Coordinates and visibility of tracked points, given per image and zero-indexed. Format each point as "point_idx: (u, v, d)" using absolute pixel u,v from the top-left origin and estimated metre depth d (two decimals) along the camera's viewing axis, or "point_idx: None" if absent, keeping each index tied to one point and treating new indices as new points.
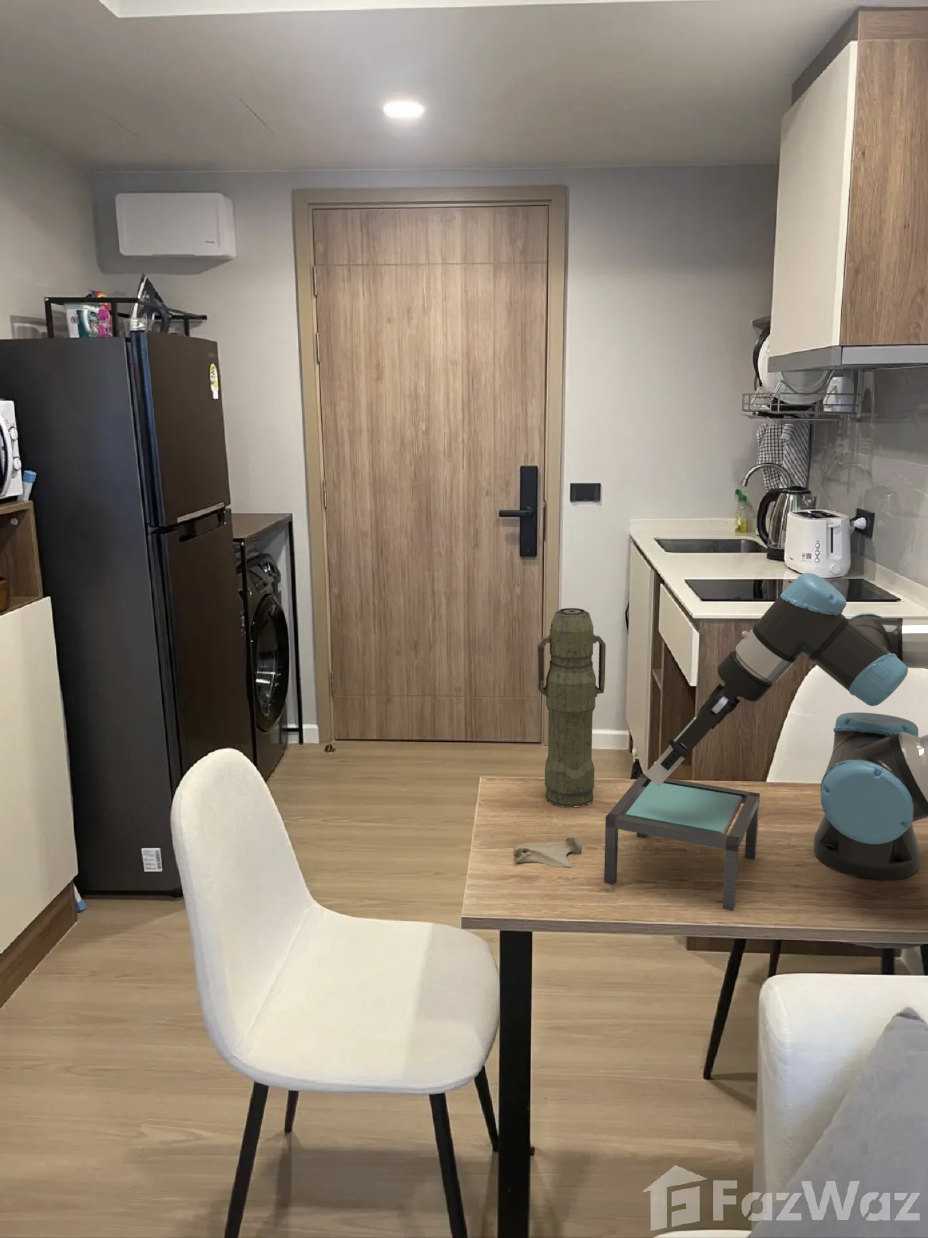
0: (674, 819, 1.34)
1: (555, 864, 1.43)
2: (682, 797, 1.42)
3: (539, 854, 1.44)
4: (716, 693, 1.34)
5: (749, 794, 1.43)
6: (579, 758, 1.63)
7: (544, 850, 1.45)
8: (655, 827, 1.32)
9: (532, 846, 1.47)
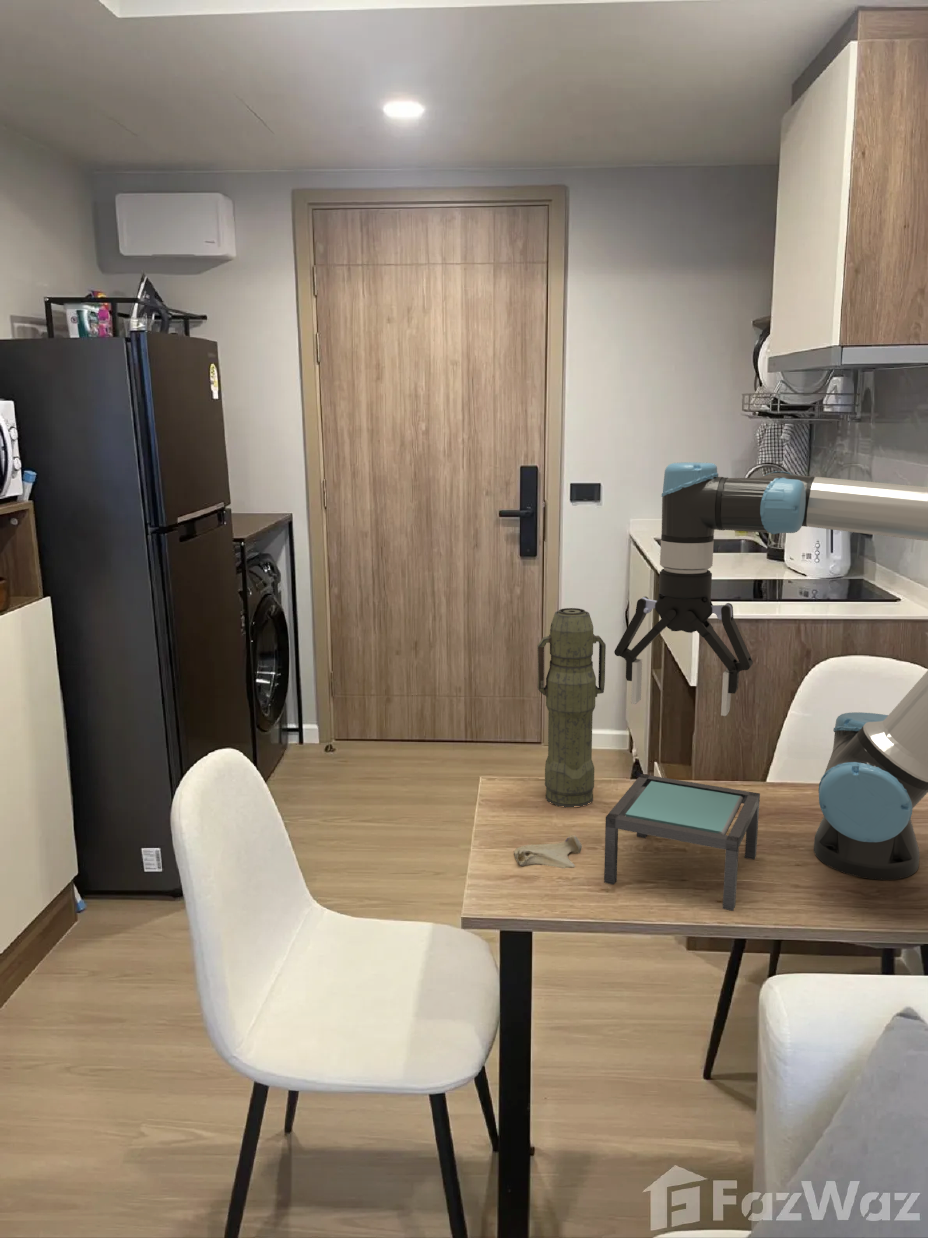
0: (674, 819, 1.34)
1: (558, 865, 1.43)
2: (682, 797, 1.42)
3: (541, 855, 1.44)
4: None
5: (749, 794, 1.43)
6: (579, 758, 1.63)
7: (546, 852, 1.44)
8: (655, 827, 1.32)
9: (532, 848, 1.47)
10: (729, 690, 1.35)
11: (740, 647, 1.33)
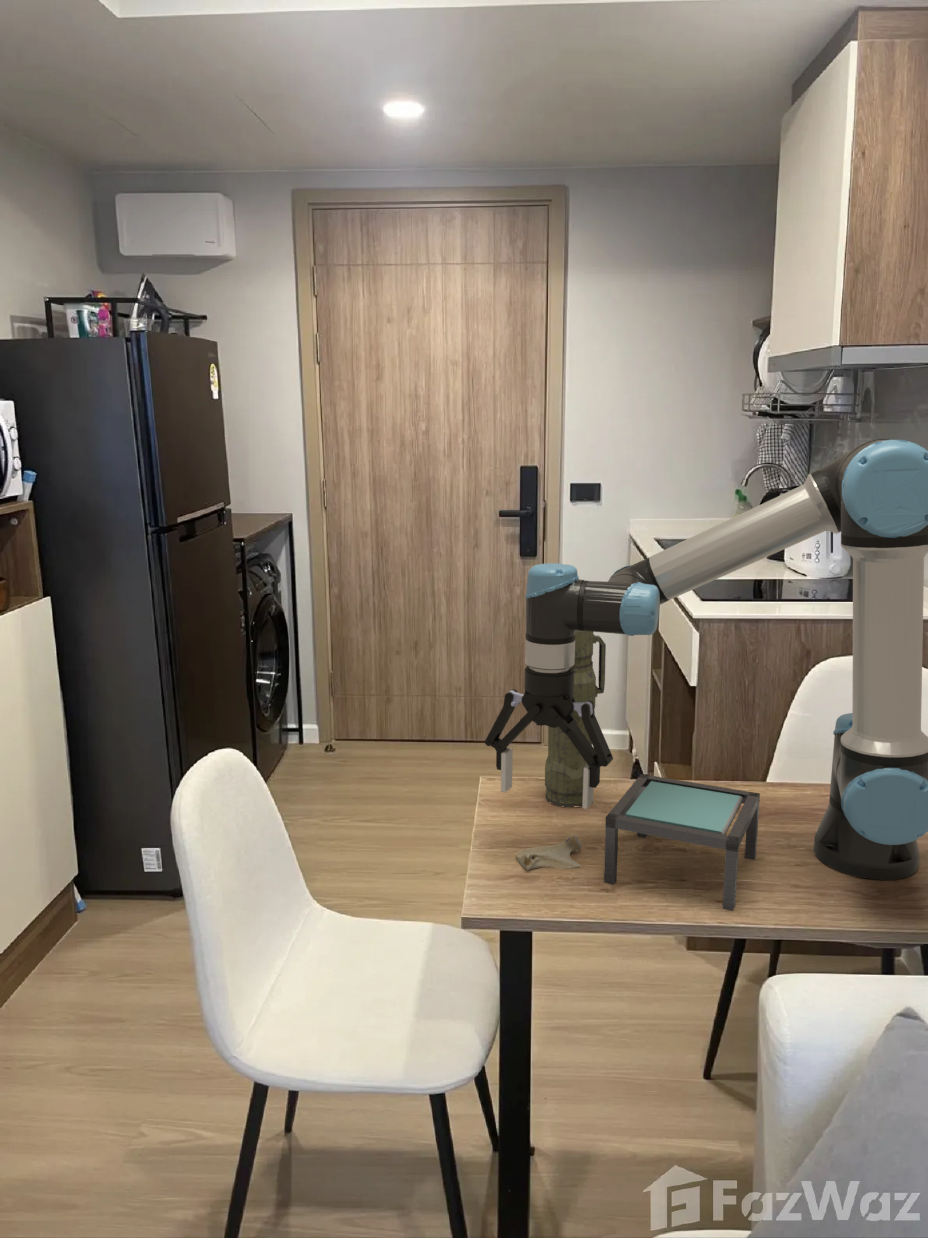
0: (674, 819, 1.34)
1: (565, 866, 1.42)
2: (682, 797, 1.42)
3: (546, 858, 1.43)
4: None
5: (749, 794, 1.43)
6: (579, 758, 1.63)
7: (550, 854, 1.44)
8: (655, 827, 1.32)
9: (534, 851, 1.45)
10: (590, 784, 1.39)
11: (599, 744, 1.37)
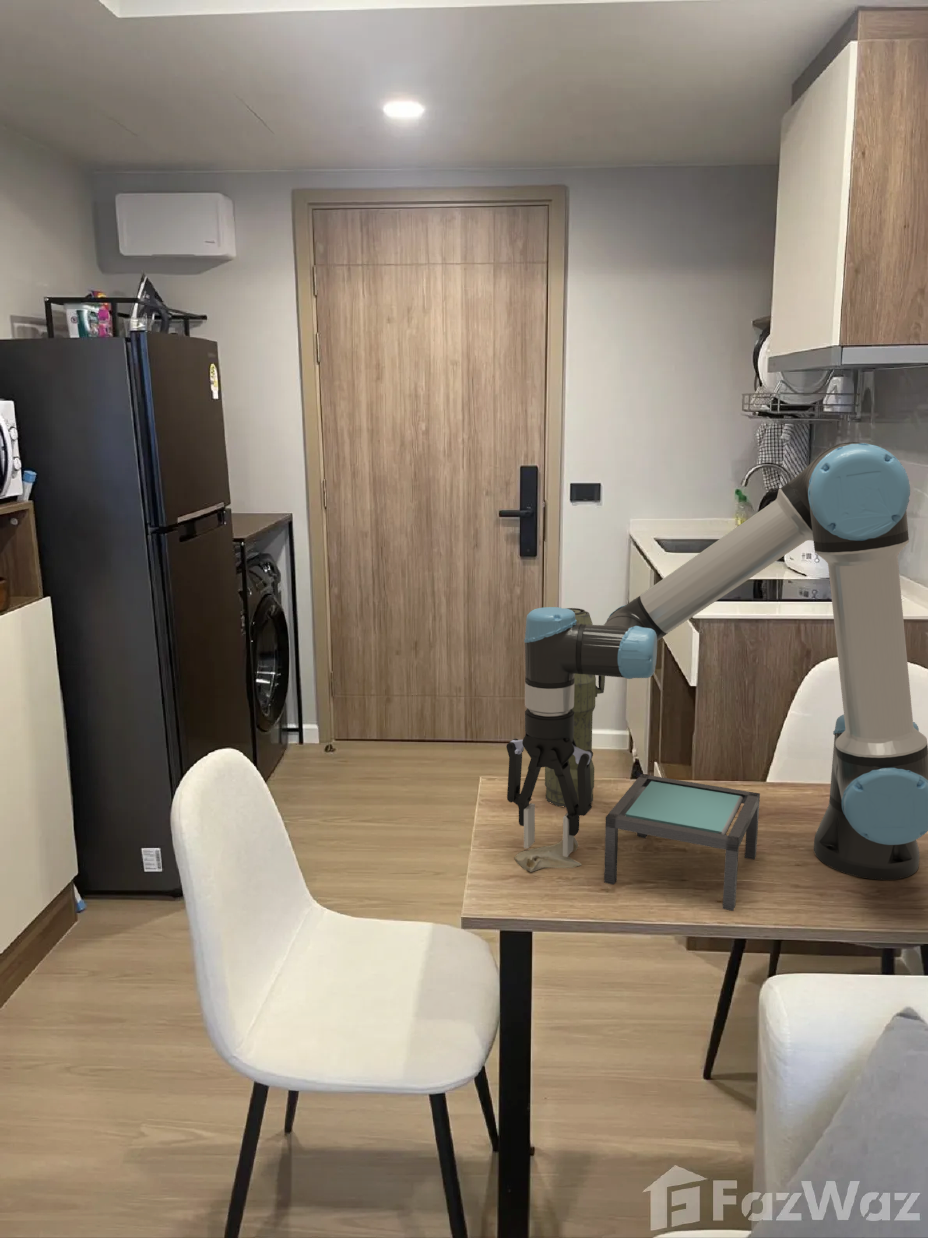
0: (674, 819, 1.34)
1: (566, 865, 1.42)
2: (682, 797, 1.42)
3: (547, 859, 1.43)
4: None
5: (749, 794, 1.43)
6: None
7: (550, 854, 1.44)
8: (655, 827, 1.32)
9: (533, 853, 1.45)
10: (570, 832, 1.42)
11: (584, 795, 1.40)
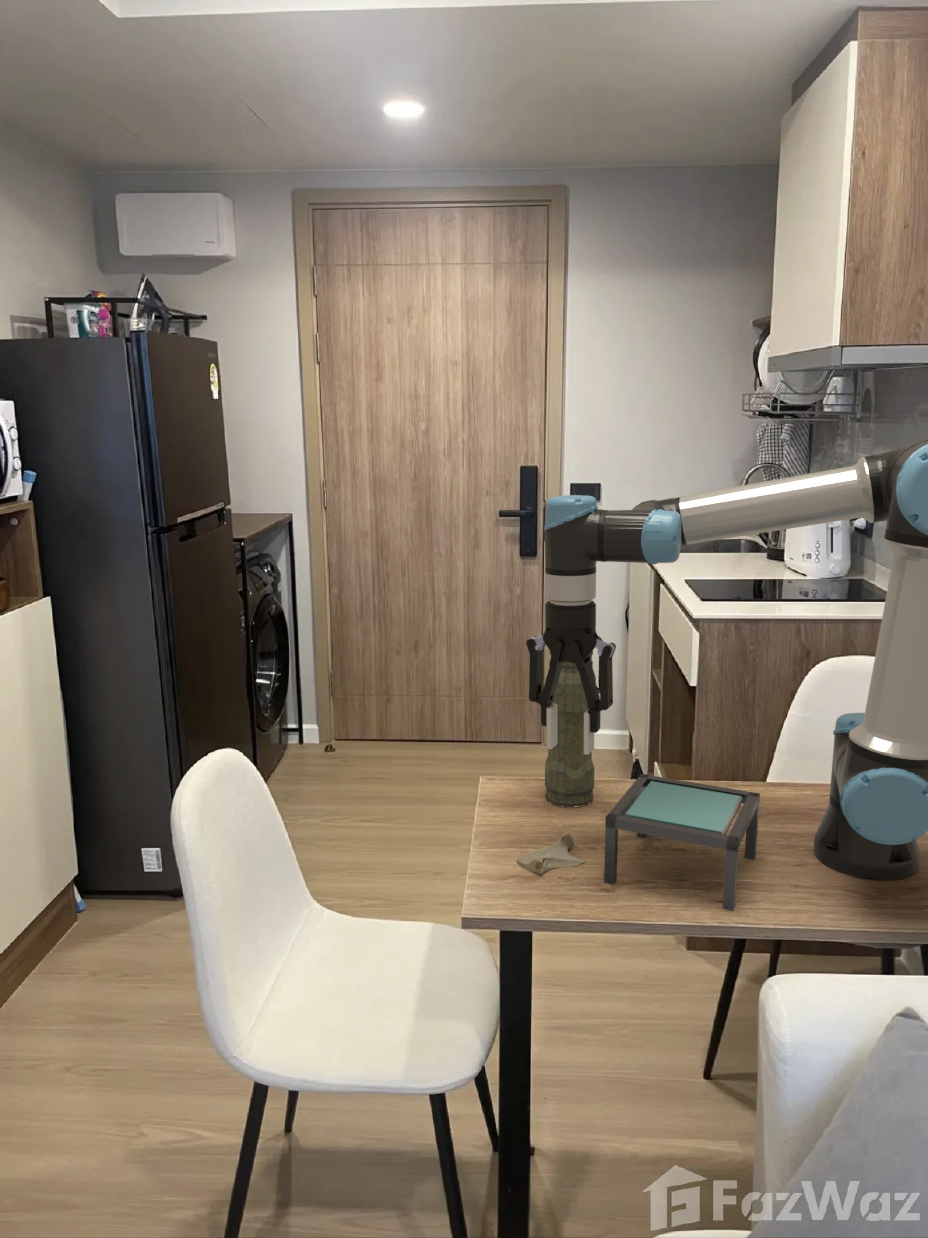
0: (674, 819, 1.34)
1: (571, 864, 1.43)
2: (682, 797, 1.42)
3: (552, 859, 1.42)
4: None
5: (749, 794, 1.43)
6: (579, 758, 1.63)
7: (554, 854, 1.43)
8: (655, 827, 1.32)
9: (535, 855, 1.44)
10: (591, 729, 1.38)
11: (606, 688, 1.36)
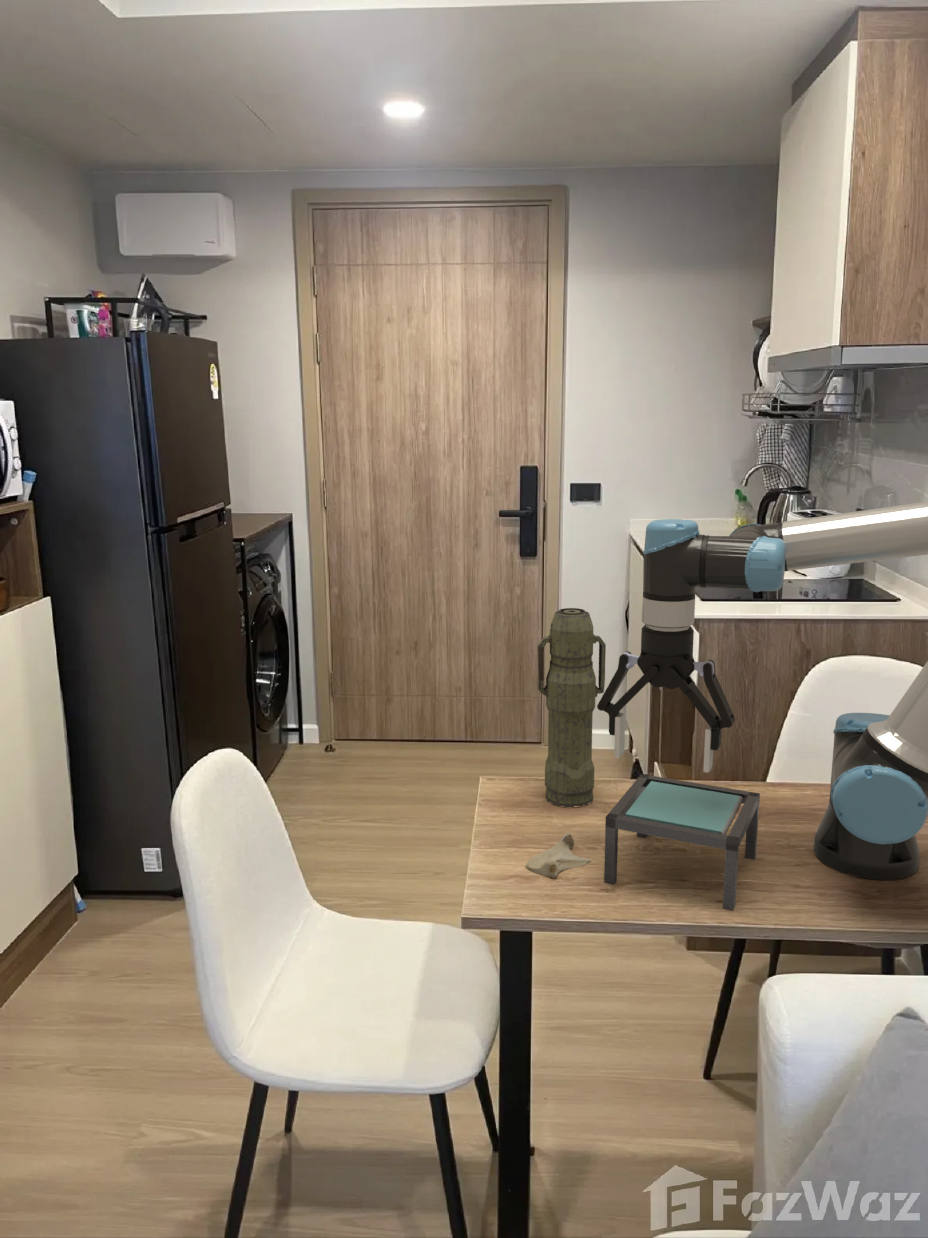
0: (674, 819, 1.34)
1: (580, 864, 1.43)
2: (682, 797, 1.42)
3: (562, 861, 1.42)
4: None
5: (749, 794, 1.43)
6: (579, 758, 1.63)
7: (561, 856, 1.43)
8: (655, 827, 1.32)
9: (542, 858, 1.43)
10: (711, 747, 1.35)
11: (722, 705, 1.32)
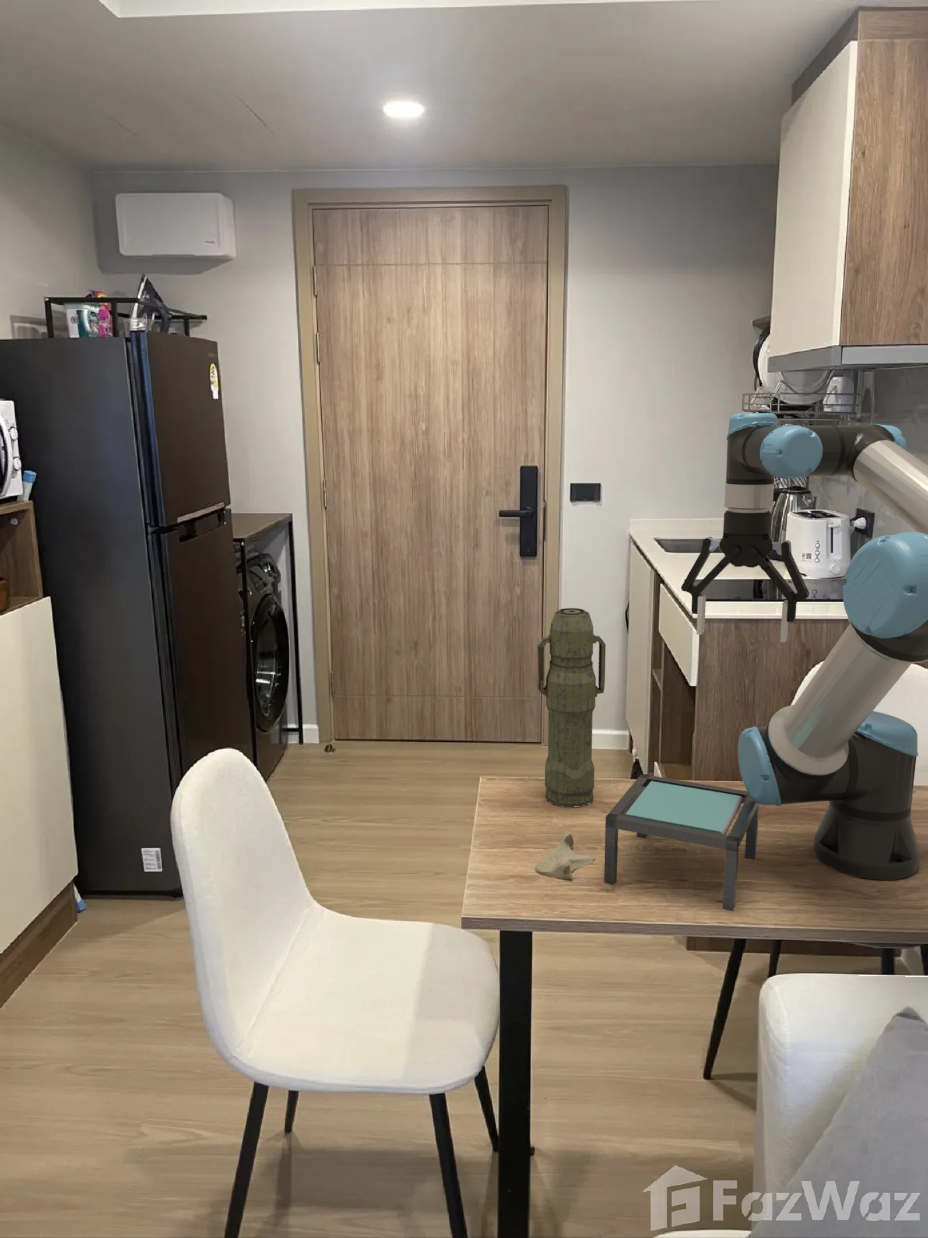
0: (674, 819, 1.34)
1: (587, 862, 1.43)
2: (682, 797, 1.42)
3: (571, 861, 1.42)
4: None
5: None
6: (579, 758, 1.63)
7: (569, 857, 1.43)
8: (655, 827, 1.32)
9: (550, 861, 1.42)
10: (787, 619, 1.50)
11: (798, 579, 1.47)
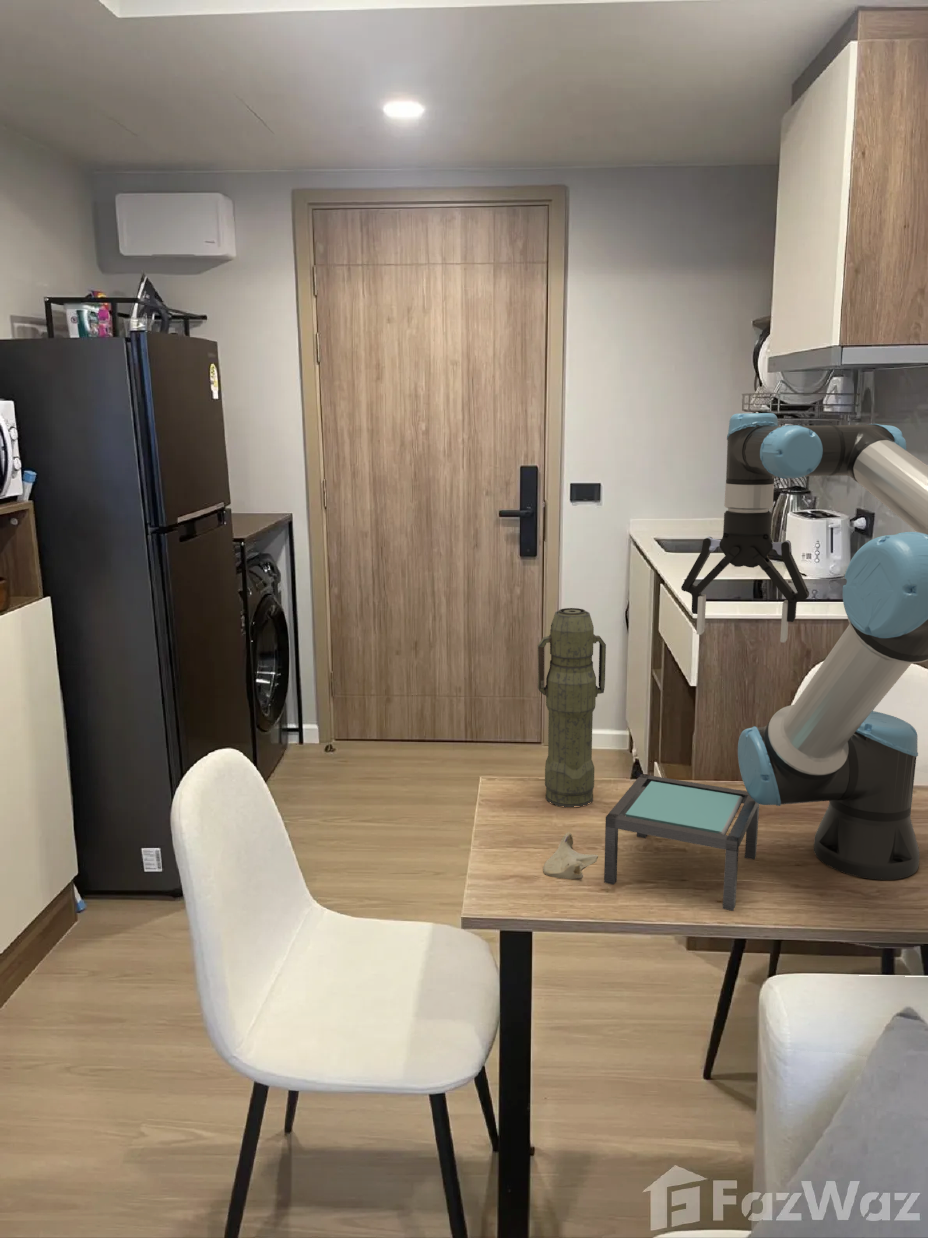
0: (674, 819, 1.34)
1: (591, 861, 1.44)
2: (682, 797, 1.42)
3: (578, 861, 1.42)
4: None
5: None
6: (579, 758, 1.63)
7: (574, 856, 1.43)
8: (655, 827, 1.32)
9: (557, 862, 1.42)
10: (788, 619, 1.50)
11: (798, 579, 1.47)
